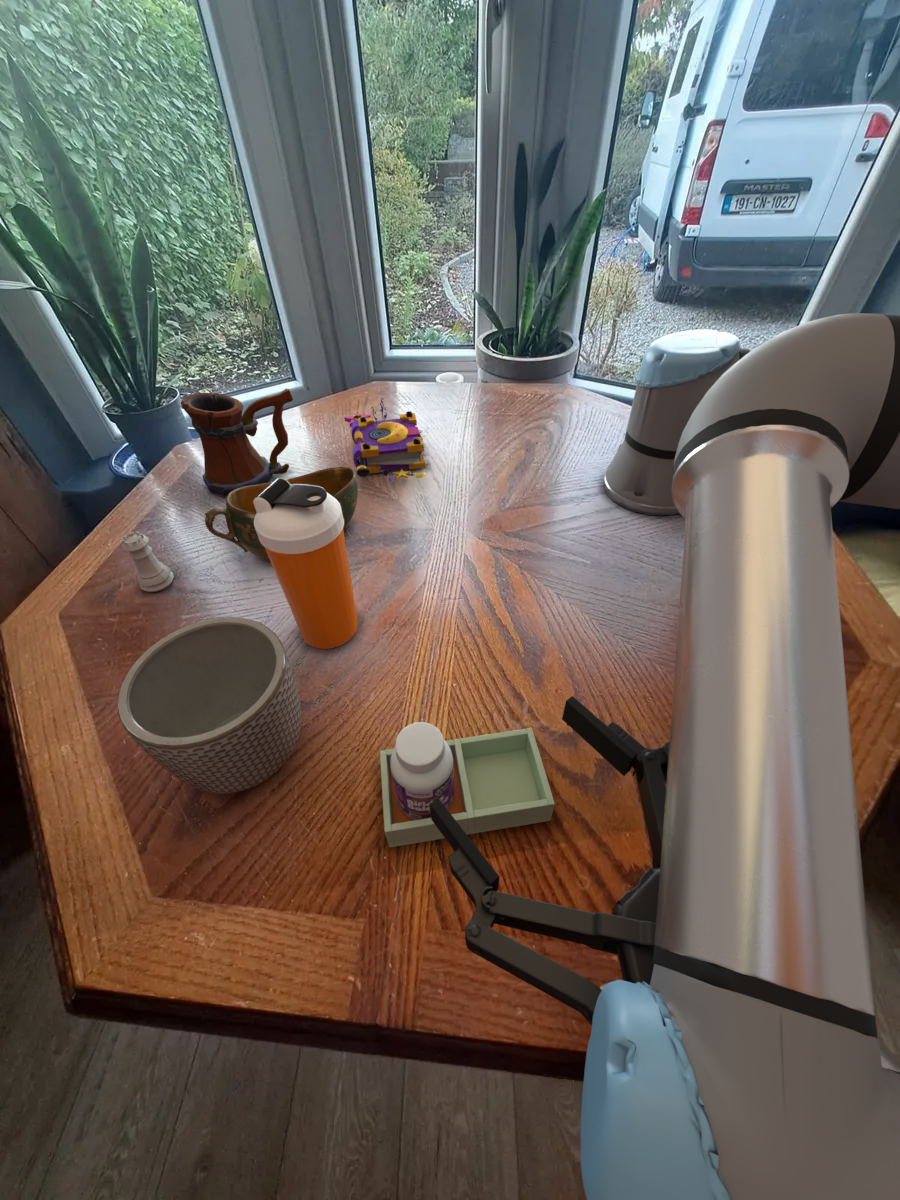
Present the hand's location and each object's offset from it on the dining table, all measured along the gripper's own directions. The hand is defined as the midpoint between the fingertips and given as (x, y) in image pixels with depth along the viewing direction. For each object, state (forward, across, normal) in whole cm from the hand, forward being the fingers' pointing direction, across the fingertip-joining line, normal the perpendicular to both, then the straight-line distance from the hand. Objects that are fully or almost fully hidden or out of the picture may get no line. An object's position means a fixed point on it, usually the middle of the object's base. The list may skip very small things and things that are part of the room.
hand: (505, 754), depth 40 cm
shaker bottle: (+31, -1, -12) cm, 33 cm away
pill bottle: (+5, -4, -11) cm, 13 cm away
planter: (+21, -16, -11) cm, 29 cm away
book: (+64, +28, -12) cm, 71 cm away
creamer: (+50, +4, -12) cm, 51 cm away
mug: (+71, +6, -12) cm, 73 cm away
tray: (+4, -1, -11) cm, 12 cm away
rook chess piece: (+54, -16, -12) cm, 57 cm away
